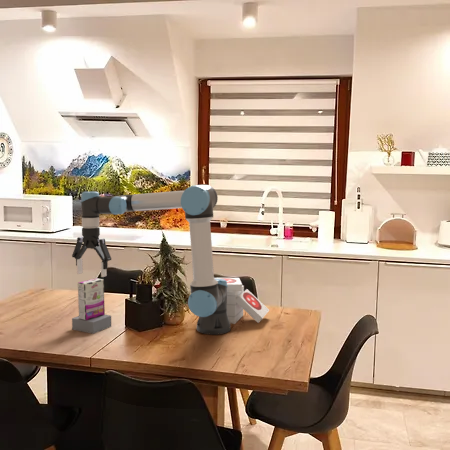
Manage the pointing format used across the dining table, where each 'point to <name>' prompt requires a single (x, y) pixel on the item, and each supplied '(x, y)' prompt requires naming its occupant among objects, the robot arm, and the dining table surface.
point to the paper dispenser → (242, 302)
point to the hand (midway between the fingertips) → (91, 275)
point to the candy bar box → (91, 298)
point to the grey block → (91, 324)
